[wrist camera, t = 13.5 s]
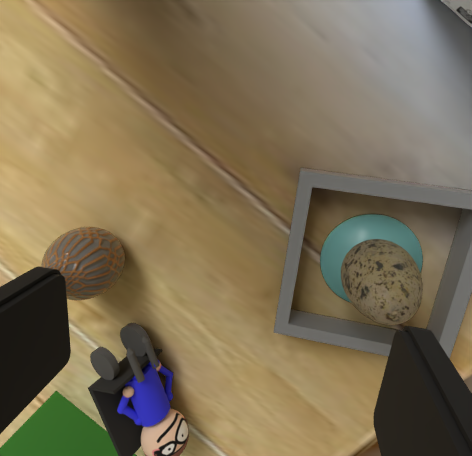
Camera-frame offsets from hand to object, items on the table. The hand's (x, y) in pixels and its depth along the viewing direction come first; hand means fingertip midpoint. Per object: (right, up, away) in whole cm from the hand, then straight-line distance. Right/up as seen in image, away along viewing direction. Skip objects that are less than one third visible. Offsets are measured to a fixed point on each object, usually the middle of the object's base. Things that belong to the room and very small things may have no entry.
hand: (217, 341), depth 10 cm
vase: (-14, +1, +28) cm, 32 cm away
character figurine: (-9, -14, +31) cm, 35 cm away
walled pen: (+13, 0, +23) cm, 26 cm away
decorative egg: (+13, 0, +23) cm, 26 cm away
